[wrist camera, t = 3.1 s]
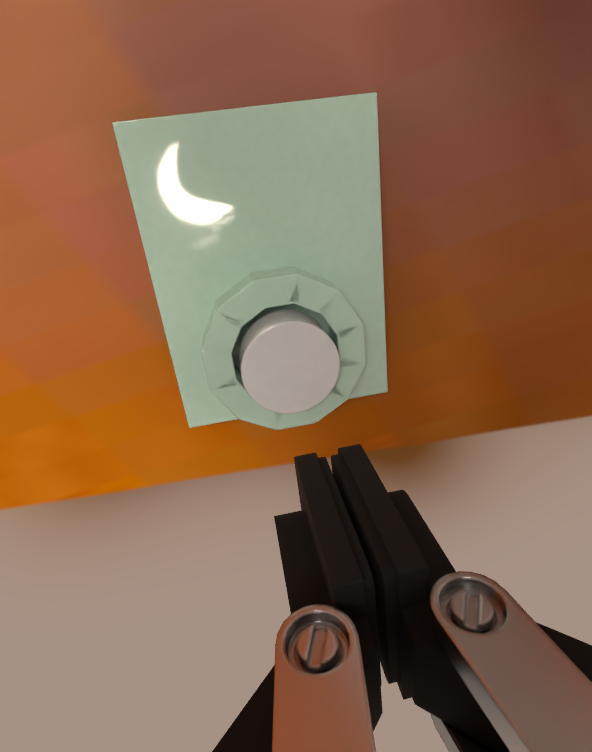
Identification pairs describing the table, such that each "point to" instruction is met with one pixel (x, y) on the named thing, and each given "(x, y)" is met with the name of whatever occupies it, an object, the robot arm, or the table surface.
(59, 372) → the table surface
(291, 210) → the green push button box
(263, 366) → the grey push button
